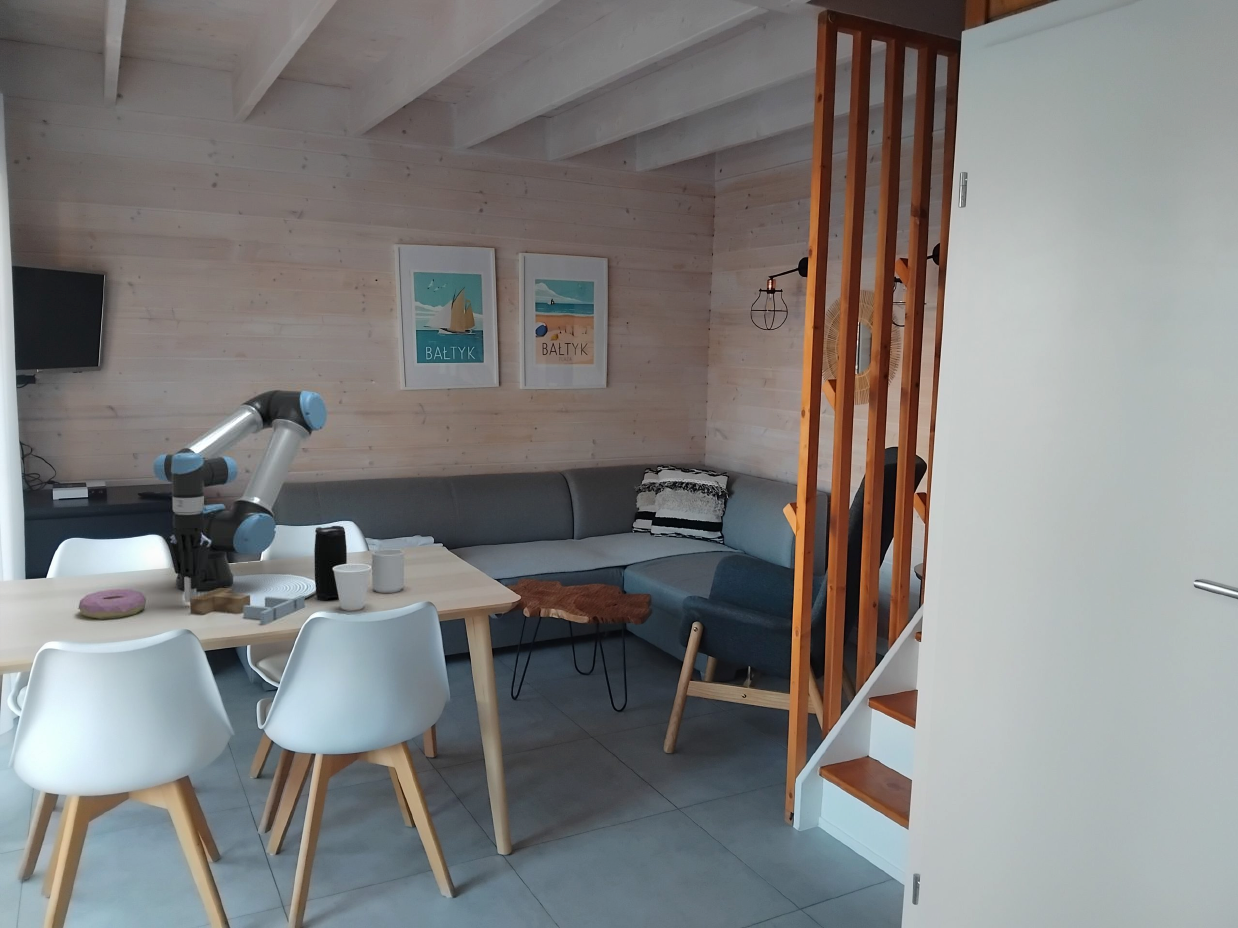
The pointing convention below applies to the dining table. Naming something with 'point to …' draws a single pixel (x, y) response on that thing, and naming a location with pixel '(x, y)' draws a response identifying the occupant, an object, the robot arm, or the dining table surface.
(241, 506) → the robot arm
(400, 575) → the mug
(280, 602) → the slot jig
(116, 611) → the donut
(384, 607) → the dining table surface
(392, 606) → the dining table surface
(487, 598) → the dining table surface
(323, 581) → the portable speaker
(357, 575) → the cup
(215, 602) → the t block
